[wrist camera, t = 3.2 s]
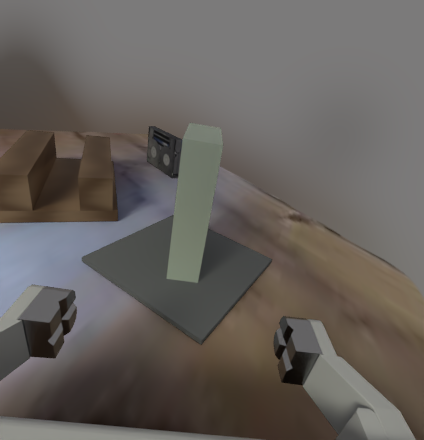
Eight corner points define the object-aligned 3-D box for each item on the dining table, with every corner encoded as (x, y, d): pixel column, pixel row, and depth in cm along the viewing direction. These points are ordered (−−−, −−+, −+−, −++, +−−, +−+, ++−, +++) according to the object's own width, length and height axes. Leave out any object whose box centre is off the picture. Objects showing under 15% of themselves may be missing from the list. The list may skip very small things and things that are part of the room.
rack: (-11, 222, 25) (-23, 173, 23) (28, 164, 38) (23, 129, 36) (117, 220, 29) (117, 178, 27) (113, 168, 42) (113, 137, 40)
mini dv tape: (180, 177, 44) (184, 139, 41) (172, 178, 43) (176, 139, 40) (154, 161, 49) (157, 126, 46) (147, 161, 48) (149, 126, 45)
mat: (82, 261, 22) (81, 257, 22) (176, 216, 32) (176, 213, 32) (200, 344, 17) (201, 340, 17) (271, 262, 27) (272, 259, 27)
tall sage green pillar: (166, 278, 22) (182, 138, 17) (175, 238, 27) (189, 122, 22) (197, 282, 22) (223, 145, 17) (200, 242, 27) (220, 128, 22)
